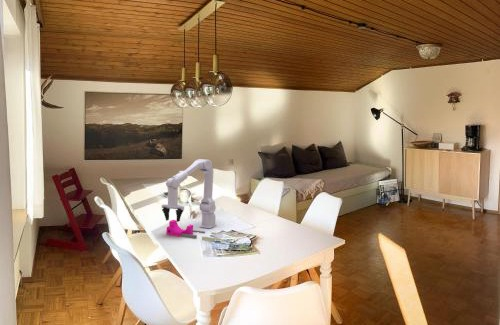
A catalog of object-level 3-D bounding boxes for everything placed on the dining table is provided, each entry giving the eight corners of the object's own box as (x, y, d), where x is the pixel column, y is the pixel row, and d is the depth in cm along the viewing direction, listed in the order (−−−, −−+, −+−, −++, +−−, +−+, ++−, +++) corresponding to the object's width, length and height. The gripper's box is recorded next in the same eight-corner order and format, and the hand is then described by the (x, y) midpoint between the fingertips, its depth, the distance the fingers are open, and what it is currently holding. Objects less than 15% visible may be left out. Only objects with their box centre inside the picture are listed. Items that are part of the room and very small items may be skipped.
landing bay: (212, 235, 237) (212, 232, 237) (240, 238, 230) (240, 235, 230) (201, 240, 226) (201, 236, 225) (231, 243, 218) (231, 240, 218)
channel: (180, 231, 245) (180, 228, 245) (205, 234, 238) (205, 231, 238) (170, 235, 234) (170, 232, 234) (195, 239, 228) (195, 235, 228)
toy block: (166, 234, 236) (166, 222, 234) (172, 231, 242) (173, 219, 240) (186, 239, 230) (187, 228, 228) (192, 236, 235) (193, 225, 234)
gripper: (158, 198, 229) (158, 221, 230) (179, 199, 224) (179, 223, 225) (165, 196, 236) (165, 218, 237) (186, 198, 230) (185, 220, 231)
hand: (172, 220), depth 231 cm, fingers open, 7 cm apart
